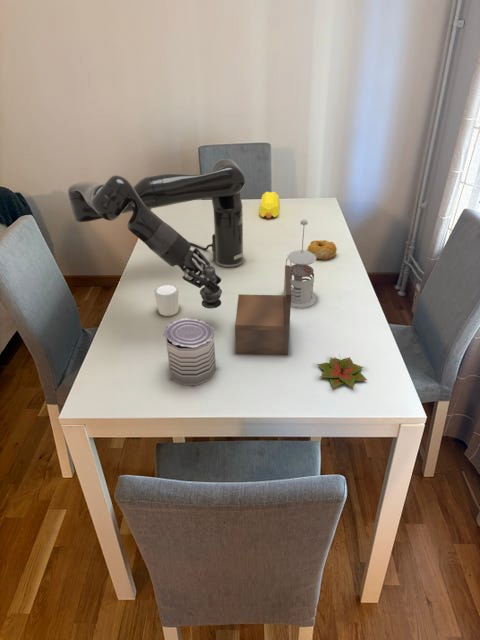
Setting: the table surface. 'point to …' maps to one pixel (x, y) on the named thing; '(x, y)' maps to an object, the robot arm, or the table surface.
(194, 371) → the can
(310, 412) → the table surface
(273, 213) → the yellow lumpy bar
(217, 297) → the chess piece
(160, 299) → the white short cylinder
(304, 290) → the french press
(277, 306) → the l-shaped wooden block
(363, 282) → the table surface
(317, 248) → the bagel
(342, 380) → the succulent plant
